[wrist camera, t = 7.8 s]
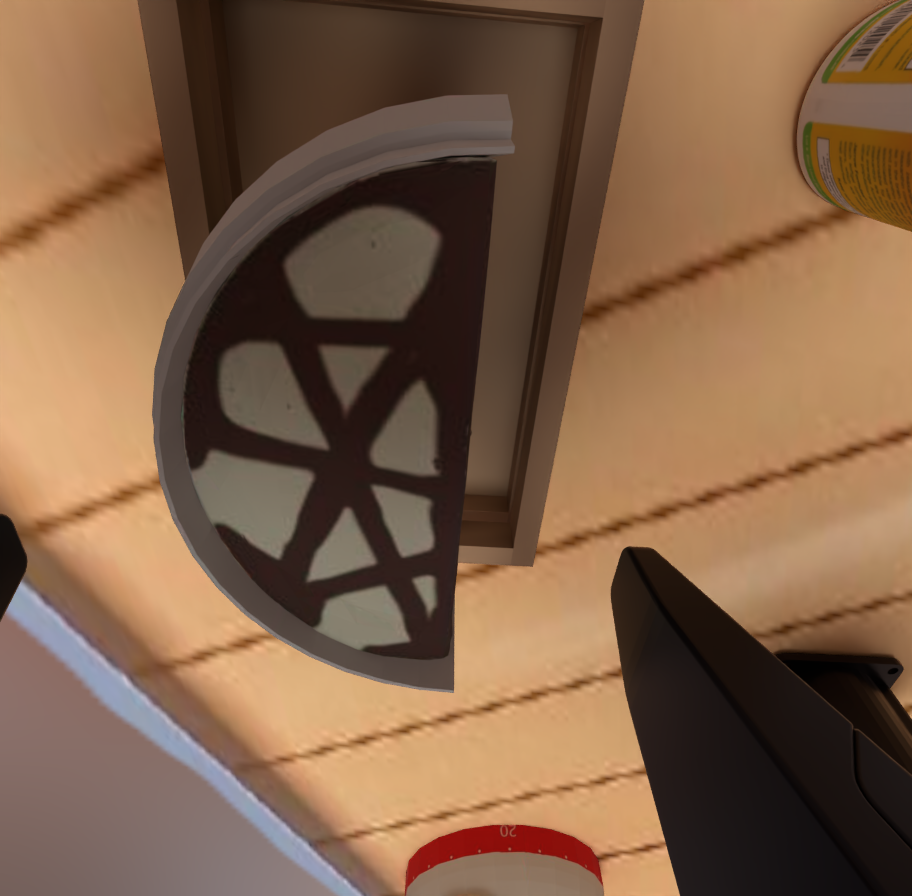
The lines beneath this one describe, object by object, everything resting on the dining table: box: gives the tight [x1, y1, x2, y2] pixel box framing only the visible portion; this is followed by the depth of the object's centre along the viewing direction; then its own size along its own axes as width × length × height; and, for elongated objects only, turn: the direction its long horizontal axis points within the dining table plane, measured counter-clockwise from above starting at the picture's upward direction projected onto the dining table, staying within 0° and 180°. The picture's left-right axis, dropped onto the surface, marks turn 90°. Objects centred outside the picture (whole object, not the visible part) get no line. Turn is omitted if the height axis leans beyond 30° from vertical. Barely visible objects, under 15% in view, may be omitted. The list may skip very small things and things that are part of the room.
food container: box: [152, 94, 515, 693], centre depth 15 cm, size 12×6×10 cm, turn 176°
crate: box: [138, 0, 644, 567], centre depth 18 cm, size 11×17×4 cm, turn 176°
